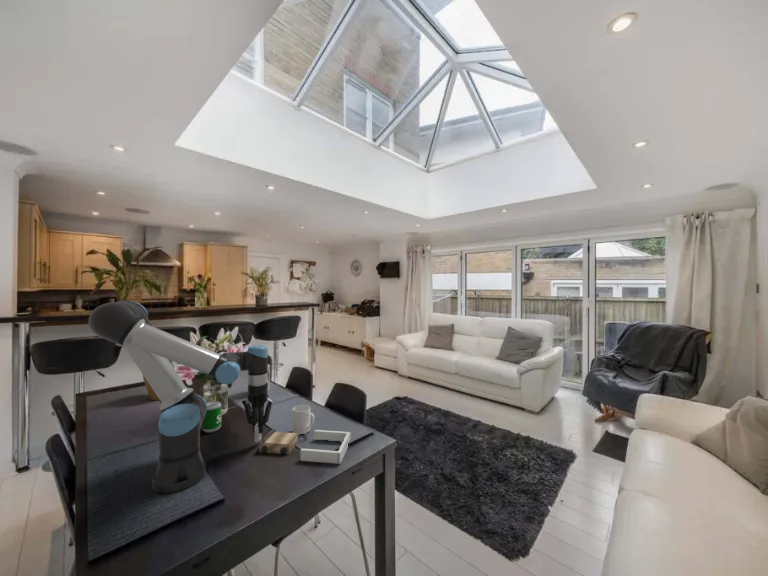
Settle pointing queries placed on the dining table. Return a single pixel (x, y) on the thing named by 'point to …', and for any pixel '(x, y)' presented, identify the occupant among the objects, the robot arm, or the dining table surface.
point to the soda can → (212, 417)
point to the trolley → (278, 442)
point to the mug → (302, 419)
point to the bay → (327, 455)
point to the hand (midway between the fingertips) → (258, 440)
